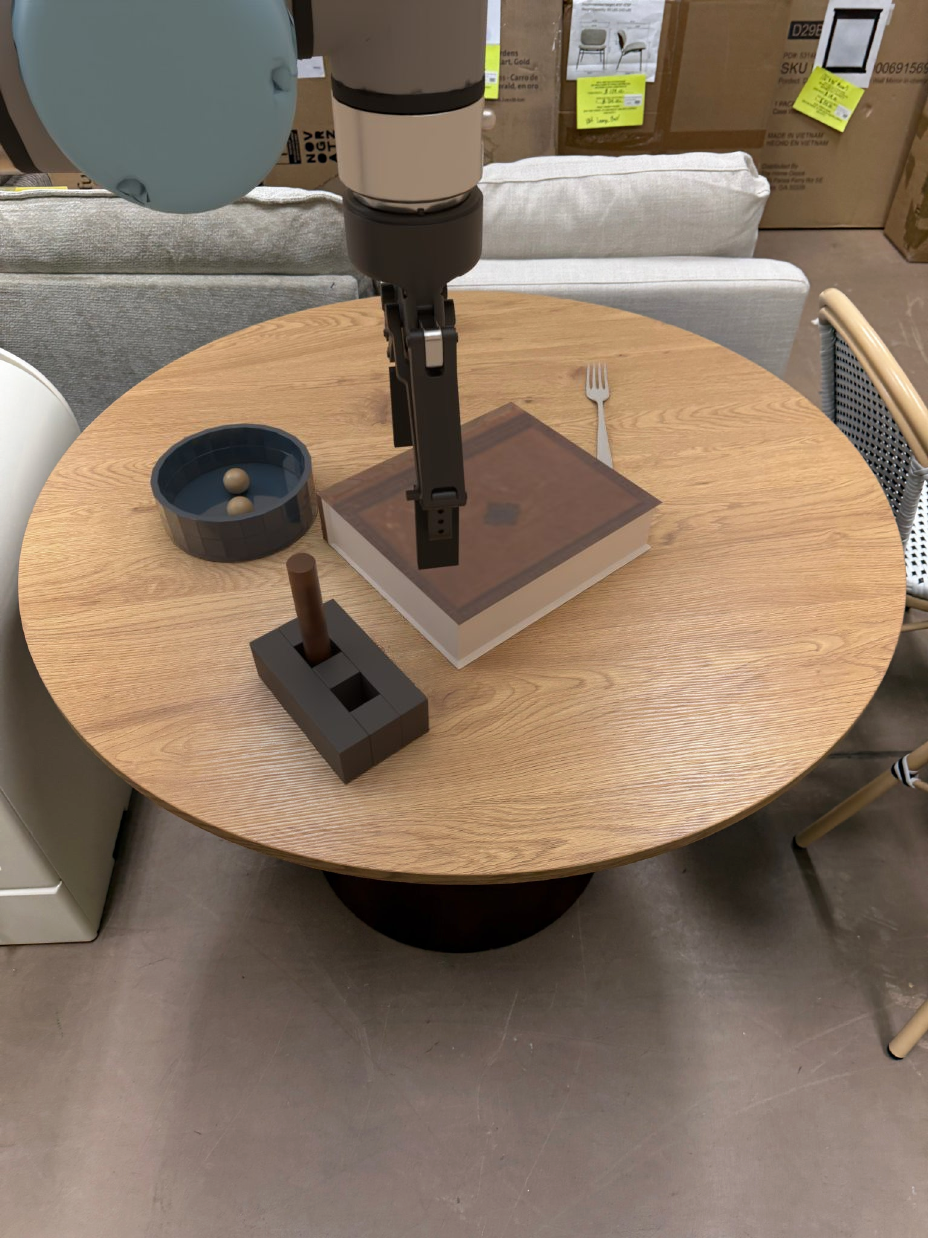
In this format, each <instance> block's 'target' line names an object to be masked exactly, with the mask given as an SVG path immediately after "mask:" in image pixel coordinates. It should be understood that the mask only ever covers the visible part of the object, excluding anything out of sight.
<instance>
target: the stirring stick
mask: <svg viewBox="0 0 928 1238" xmlns="http://www.w3.org/2000/svg"><path fill="white" fill-rule="evenodd" d="M285 567H286V572H287V576H288V581H289V586H290V591H291V595H292V600H293V605H294V609H295V615H296V618H297V619H298V623H299V628H300V633H301V637H302V642H303V647H304V651H305V656H306V661H307V664H308V665H309V666H310V667H311V668H313V667H315V666H317V665H319V664H321V663H322V662H324V661H326V660H328V659H329V658H331V657H332V652H331V646H330V640H329V635H328V629H327V623H326V618H325V612H324V606H323V603H324V602H323V601H324V600H323V595H322V590H321V585H320V578H319V572H318V568H317V562H316V558H315V557H314V556H313V555H312V554H310V553H307V552H298V553H294V554H292V555H291V556H290V557H288V558H287V560H286V561H285Z"/></svg>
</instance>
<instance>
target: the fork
mask: <svg viewBox="0 0 928 1238" xmlns="http://www.w3.org/2000/svg"><path fill="white" fill-rule="evenodd" d="M601 365H602V364H601V361H599V362H598V369H597V371H598V372H597V375H598V388H597V383H596V362H595V361H593V365H592V382H591V381H590V378H591V362H590V361H587V368H586V369H587V370H586V383H585V395H586V397H587V398H588V399H590V400H591V401H594V402H596V404H597V409H598V410H597V411H598V412H597V413H598V416H597V417H598V418H597V419H598V423H597V426H598V427H597V440H596V441H597V444H596V445H597V446H596V447H597V448H596V458H597V459H598V460H600V461H601V462H603V463H604V464H606V465H607V466H609V467H610V468H612V469H613V470H614V465H613V459H612V455H611V454H612V453H611V448H610V443H609V436H608V432H607V427H606V421H605V413H604V403H603V402H604V401H607V400H608V399H609V397H610V388H609V381H608V371H607V365H606V362H605V361H604V362H603V377H604V378H603V379H604V387H603V381H602V366H601ZM590 382H591V383H592V385H591V387H590Z"/></svg>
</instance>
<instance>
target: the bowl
mask: <svg viewBox="0 0 928 1238" xmlns="http://www.w3.org/2000/svg"><path fill="white" fill-rule="evenodd" d="M233 468H239V469H242V470H244V471H245V472H246V473H247V474H248V476H249V479H250V484H249V487H248V489H247V490H246V491H245V492H243V493H241V494H233V493H231V492H229V491H228V490H227V489H226V488H225V486H224V483H223V478H224V475H225V473H226V472H227V471H228V470H230V469H233ZM314 471H315V470H314V465H313V459H312V455H311V454H310V452H309V449H308V447H307V446H306V444H304V442H302V440H300V439H299V438H298V437H297V436H296V435H293V434H292V433H290V432H288V431H286V430H283V429H282V428H279V427H276V426H275V427H274V426H270V425H267V424H261V423H247V422H246V423H245V422H244V423H243V422H242V423H231V424H223V425H219V426H214V427H210V428H206V429H203V430H200V431H198V432H196V433H195V432H194V433H193V434H190V435H188V436H185V437H184V438H183V439H181V440H179V441H177V442H176V443H174V444H173V445H171V446H170V447H169V448H168V449H166V450H165V452H164V453H163V454H162V455H161V456H160V457H158V459H157V461H156V463H155V464H154V465H153V467H152V469H151V474H150V481H149V485H150V489H151V492H152V495H153V499H154V501H155V504H156V507H157V510H158V513H159V515H160V518H161V521H162V524H163V527H164V530H165V532H166V534H167V536H168V537H169V540H170V541H171V542H172V543H173V544H174V545H175V546H176V547H177V548H179V550H181V551H183V552H184V553H186V554H188V555H190V556H192V557H195V558H198V559H201V560H205V561H209V562H215V563H216V562H217V563H242V562H251V561H254V560H258V559H262V558H265V557H268V556H271V555H274V554H276V553H279V552H281V551H283V550H285V549H286V548H289V547H290V546H291V545H293V544H294V543H296V542H297V541H299V539H301V538H302V537H303V536H304V535H305V534H306V533H307V532H308V530H309V529H310V528H311V527H312V525H313V524H314V521H315V519H316V517H317V513H318V511H319V509H318V503H317V497H316V493H317V492H318V491H317V484H316V479H315V478H316V477H315V472H314ZM238 496H242V497H246V498H248V499H249V500H250V501H251V502H252V504H253V506H254V512H250V513H246V514H242V515H237V516H228V514H227V505H228V503H229V501H230V500H231V499H233V498H235V497H238Z"/></svg>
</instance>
